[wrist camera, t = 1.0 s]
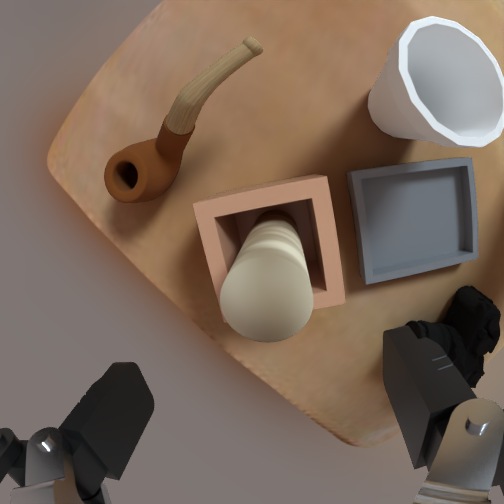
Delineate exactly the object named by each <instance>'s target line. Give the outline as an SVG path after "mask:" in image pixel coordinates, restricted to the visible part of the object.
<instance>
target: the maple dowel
mask: <svg viewBox="0 0 504 504" xmlns="http://www.w3.org/2000/svg"><path fill="white" fill-rule="evenodd" d="M220 305H221V310H222V313H223V315H224V317H225V319H226V321H227V322H228V324H229V325H230V326H231V327H232V328H233V329H234V330H235V331H236V332H238V333H239V334H240V335H242V336H244V337H246V338H248V339H251V340H254V341H258V342H277V341H281V340H284V339H287V338H289V337H291V336H293V335H294V334H296V333H297V332H299V331H300V330H301V329H302V328H303V327H304V326H305V324H306V323H307V321H308V320H309V318H310V315H311V313H312V309H313V292H312V288H311V283H310V279H309V274H308V270H307V266H306V261H305V257H304V253H303V249H302V244H301V240H300V236H299V232H298V228H297V225H296V222H295V220H294V219H293V218H292V217H291V216H290V215H289V214H288V213H286V212H284V211H281V210H269V211H266V212H264V213H262V214H261V215H260V216H259V217H258V218H257V219H256V221H255V223H254V225H253V227H252V228H251V230H250V232H249V234H248V236H247V238H246V240H245V242H244V244H243V246H242V248H241V250H240V252H239V254H238V256H237V258H236V259H235V261H234V263H233V265H232V267H231V269H230V271H229V273H228V275H227V277H226V279H225V281H224V283H223V285H222V288H221V293H220Z"/></svg>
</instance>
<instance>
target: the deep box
mask: <svg viewBox="0 0 504 504" xmlns="http://www.w3.org/2000/svg"><path fill="white" fill-rule="evenodd" d="M193 207H194V211H195V215H196V219H197V223H198V227H199V231H200V235H201V239H202V243H203V247H204V251H205V255H206V259H207V262H208V266H209V270H210V274H211V277H212V281H213V285H214V289H215V292H216V296H217V299H218V303H219V307H220V310H221V305H220V293H221V288H222V285H223V283H224V281H225V279H226V277H227V275H228V273H229V271H230V269H231V267H232V265H233V263H234V261H235V259H236V258H237V256H238V254H239V252H240V250H241V248H242V246H243V244H244V242H245V240H246V238H247V236H248V234H249V232H250V230H251V228H252V227H253V225H254V223H255V221H256V219H257V218H258V217H259V216H260V215H261V214H262V213H264V212H266V211H269V210H281V211H284V212H286V213H288V214H289V215H290V216H291V217H292V218H293V219H294V220H295V222H296V225H297V228H298V232H299V236H300V240H301V244H302V249H303V253H304V257H305V261H306V266H307V270H308V274H309V279H310V283H311V288H312V292H313V309H319V308H324V307H330V306H335V305H340V304H345V293H344V284H343V276H342V268H341V260H340V253H339V246H338V239H337V232H336V226H335V220H334V213H333V207H332V202H331V196H330V190H329V185H328V180H327V176H323V175H317V174H311V175H305V176H300V177H295V178H289V179H284V180H279V181H274V182H269V183H264V184H259V185H254V186H249V187H245V188H240V189H235V190H231V191H226V192H222V193H218V194H215V195H213V196H210V197H208V198H205V199H203V200H201V201H198V202H196V203H193ZM313 309H312V310H313ZM221 314H222V317H223V321H224V323H228V322H227V321H226V319H225V317H224V315H223V313H222V310H221Z"/></svg>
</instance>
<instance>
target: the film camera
mask: <svg viewBox="0 0 504 504" xmlns="http://www.w3.org/2000/svg"><path fill="white" fill-rule="evenodd" d="M500 316H501V314H500V311H499V310H498V309H497V307H496V306H495V305H494V304H493V301H492V300H491V299H489V298H488V297H486V296H485V295H484V294H482V293H481V292H479V291H478V290H477V289H476V288H475V287H473V286H470V287H469V286H464V287H461V288H460V289H458V291H457V292H456V295H455V297H454V299H453V301H452V304H451V306H450V308H449V310H448V312H447V315H446V317H445V319H444V321H443V323H442V324H441V323H430V322H426V321H422V320H420V321H417V322H416V321H410V322H408V323H407V324H406V325H405V326H409V327H410V328H411V330H412V331H413V332H414V334H415V335H416V337H417V338H418V339H421V338H424V337H427V338H429V339H431V340H432V341H434V342H436V343H438V344H439V345H440V346H441V348H442V349H443V350H444V352H445V353H446V354H447V357H449V358H450V360H451V361H452V362H453V366H454V365H455V367H456V368H457V369H458V371H459V372H460V374H461V375H462V376H463V378H464V379H465V381H466V382H467V383H468V385H469V386H470V388H476V384H477V382H478V381H479V379H480V378H481V376H483V375H484V371H483V364H484V356H483V355H484V354H486V353H487V352H488V351H489V353H492V352H493V350H494V348H495V346H496V344H497V342H498V340H499V337H500V326H499V321H500Z"/></svg>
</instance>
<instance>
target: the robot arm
mask: <svg viewBox="0 0 504 504" xmlns="http://www.w3.org/2000/svg"><path fill="white" fill-rule="evenodd" d="M383 380H384V385H385V389H386V392H387V394H388V397H389V399H390V402H391V405H392V407H393V410H394V412H395V415H396V418H397V421H398V423H399V426H400V429H401V432H402V434H403V437H404V440H405V443H406V446H407V448H408V452H409V455H410V458H411V461H412V464H413V467H414V469H417V468H420V467H423V466H427V468H428V471H429V473H428V475H427V477H426V479H425V481H424V484H423V486H422V488H421V489H420V491H419V493H418V494H417V496H416V499H415V500H414V502H413V504H491V500H488V495H489V491H490V488H491V486H497V485H500V487H501V490H502V492H503V495H504V409H502V408H501V407H500V406H499V405H498V404H497V403H495V402H494V401H492V400H488V399H483V398H477V397H476V395H475V394H474V392H473V391H472V389H471V388H470V386H469V385H468V383H467V382H466V381H465V379H464V378H463V376H462V375H461V374H460V372H459V371H458V369H457V368H456V367H455V365H454V366H453V362H452V361H451V360H450V358H449V357H447V354H446V353H445V352H444V350H443V349H442V348H441V346H440V345H439V344H438V343H436V342H434V341H432V340H431V339H429V338H427V337H424V338H421V339H418V338H417V337H416V335H415V334H414V332H413V331H412V330H411V328H410V327H409V326H403V327H399V328H395V329H390V330H386V331H384V333H383ZM153 411H154V399H153V396H152V394H151V392H150V390H149V388H148V386H147V384H146V381H145V379H144V377H143V375H142V373H141V371H140V369H139V367H138V365H137V364H136V363H134V362H116V363H113V364H112V365H111V366H110V367H109V369H108V370H107V371H106V372H105V374H104V375H103V376H102V377H101V378H100V379H99V380H98V381H96V382H95V383H94V384H93V385H92V386H91V387H90V388H89V390H88V391H87V392H86V395H84V396H83V397H82V398H81V400H80V403H78V404H77V405H76V406H75V407H74V409H73V410H72V411H71V413H70V414H69V415H68V416H67V418H66V419H65V421H64V422H63V423H62V424H61V426H60V427H59V428H58V429H57V428H55V427H47V428H43V429H41V430H39V431H37V432H36V433H34V434H33V435H32V437H31V438H30V439H29V440H19V439H18V438H17V437H16V435H15V434H14V433H13V432H12V430H11V429H9V428H2V429H0V483H1V481H2V480H3V478H4V477H5V475H6V474H7V473H8V474H9V476H10V477H11V478H12V479H13V480H14V481H15V482H16V483H17V484H18V485H19V486H20V487H18V488H14V489H12V491H11V494H10V504H111V500H110V497H109V493H108V490H107V487H106V485H105V484H104V483H103V480H104V478H105V477H107V478H111V479H115V480H120V478H121V475H122V474H123V471H124V470H125V467H126V465H127V463H128V461H129V459H130V457H131V455H132V453H133V451H134V449H135V447H136V445H137V443H138V441H139V439H140V437H141V435H142V433H143V431H144V429H145V427H146V425H147V423H148V421H149V419H150V417H151V415H152V413H153Z"/></svg>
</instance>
